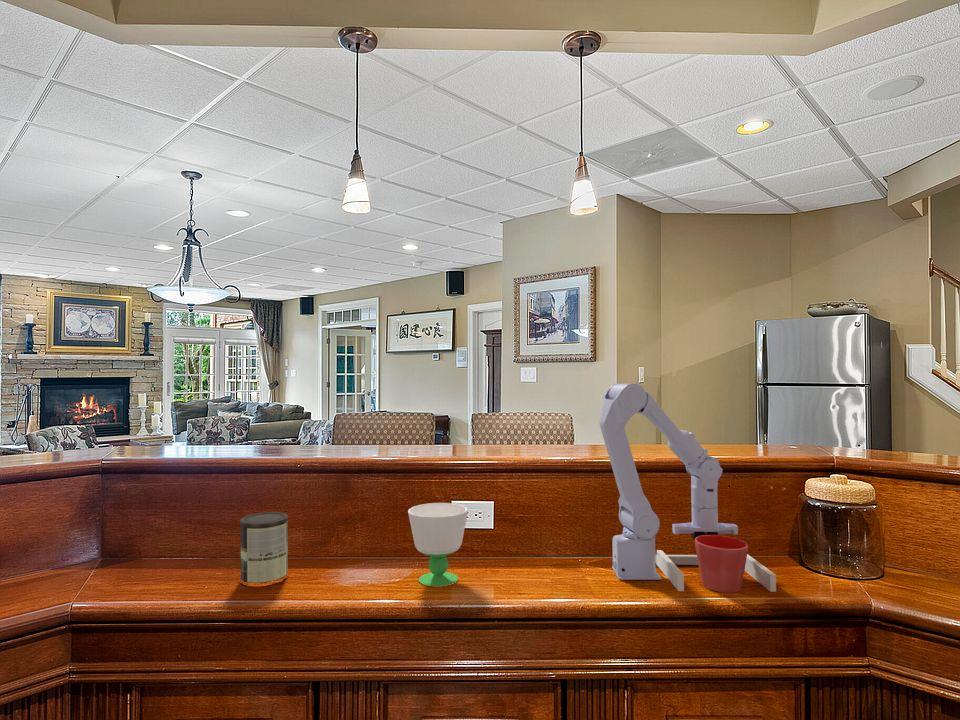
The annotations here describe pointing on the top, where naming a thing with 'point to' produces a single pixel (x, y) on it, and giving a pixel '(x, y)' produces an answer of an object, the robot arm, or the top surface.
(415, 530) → the cup
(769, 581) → the u-shaped frame
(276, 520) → the coffee can
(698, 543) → the flower pot
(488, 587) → the top surface
